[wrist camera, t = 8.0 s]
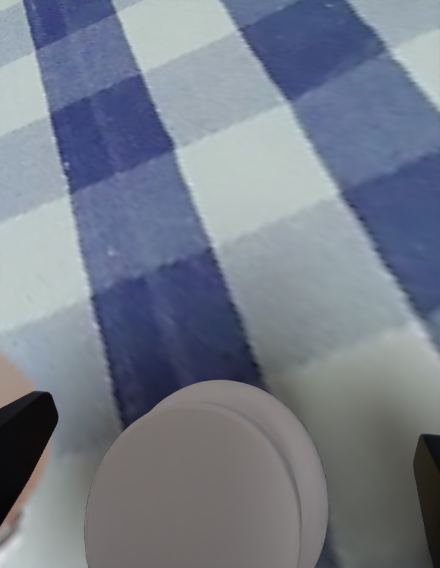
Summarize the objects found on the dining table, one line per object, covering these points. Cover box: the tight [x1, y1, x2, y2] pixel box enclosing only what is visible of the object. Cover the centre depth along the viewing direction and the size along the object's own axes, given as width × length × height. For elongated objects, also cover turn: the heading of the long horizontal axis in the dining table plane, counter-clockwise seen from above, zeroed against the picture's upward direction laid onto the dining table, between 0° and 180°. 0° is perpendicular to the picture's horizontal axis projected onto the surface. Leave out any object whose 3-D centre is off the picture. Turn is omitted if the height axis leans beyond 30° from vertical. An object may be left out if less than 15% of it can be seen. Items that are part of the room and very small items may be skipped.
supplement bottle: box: [84, 380, 328, 568], centre depth 11 cm, size 5×5×10 cm
